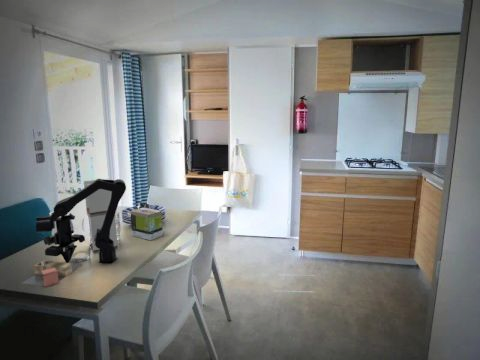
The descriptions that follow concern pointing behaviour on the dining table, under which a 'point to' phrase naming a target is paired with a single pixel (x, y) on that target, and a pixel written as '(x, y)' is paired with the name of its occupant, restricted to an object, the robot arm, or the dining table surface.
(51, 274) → the keeper
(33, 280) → the base plate
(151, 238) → the tea box
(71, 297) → the dining table surface
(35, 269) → the link
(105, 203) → the tall white box
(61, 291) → the dining table surface
